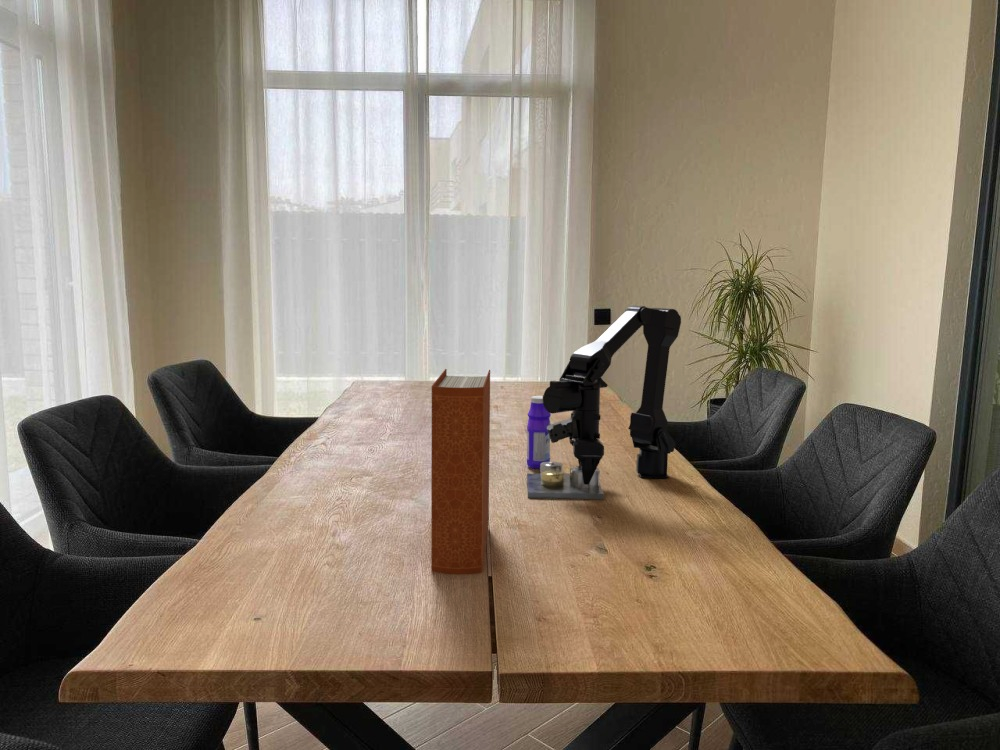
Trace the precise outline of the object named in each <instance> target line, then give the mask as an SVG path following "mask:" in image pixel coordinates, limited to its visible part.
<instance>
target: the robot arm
mask: <svg viewBox="0 0 1000 750" xmlns="http://www.w3.org/2000/svg"><path fill="white" fill-rule="evenodd" d="M681 324H682V316H681V315H680V314H679V312H678V311H677V309H675V308H665V307H662V308H661V307H651V308H650V307H648V306H645V305H630V306H628V307H627V308H626V309H625V311H624V313H623V314H621V315H620V316H619V317H618V318H617V320H616V321H614V322H613V323H612V324H611V325H610V326H609V327H608V328H607V330H605V331H604V332H603V333H602V334H601V335H600V336H599V337H598V338H597V339H596V340H595V341H593V342H590V343H588V344H585V345H583V346H582V347H580V348H579V349H576V350H575V351H574V352H573V353H572V354H571V355H570V356H569V357H570V358H569V360H568V363H567V365H566V367H565V368H564V371H563V372H562V374H561V375H560V378H559V380H550V381H549V386H548V387H547V388H545V391H544V393H543V395H542V396H543V404H544V407H545V409H546V410H547V411H548V412H549V413H550V414H559V413H565V412H570V418H567V419H563V420H561V421H558V422H557V421H556V422H554V423H550V424H551V425H549V426H547V431H548V434H549V437H550V443H552V444H554V443H555V444H556V443H558V442H559V441H561V440H564V439H567V438H568V439H569V444H570V445H571V446H572V447H573V448H572V449H573V457H574V458H575V459H577V462H578V466H581V469H582V476H583V482H584V484H589V483H590V481H591V479H592V477H593V475H594V472H595V470H596V468H598V466H599V465H600V462H601V460H602V459H603V457H604V455H605V446H604V443H603V442H602V441H601V440H600V438H601V433H600V421H601V414H600V411H601V410H600V409H601V408H600V406H601V400H600V398H601V389H603V388H608V386H609V385H608V383H607V382H606V381H604V380H603V378H602V377H603V376H604V375H605V373H606V372H607V370H608V369H609V367H610V366H611V363H612V357H613V356H614V355H615V353H617V352H618V351H619V350H620V349H621V348H622V347H623V345H624V344H626V343H627V342H628V341H629V340H630V339H631V338H632V336H633V335H634V334H635V333H637V331H638V330H640V328H642V329H643V330H642V333H643V336H644V339H645V341H646V343H647V351H646V359H645V368H644V370H645V371H644V375H643V376H644V377H643V385H642V395H641V400H640V401H641V402H640V406H639V407H638V409H637V410H636V412H634V411H632V412H631V414H630V415H629V416H630V419H629V421H630V422H629V426H628V430H629V435H630V437H631V441H632V444H633V445H632V446H633V448H635V449H638V451H639V452H638V453H637V454H636V465H635V469H636V470H635V471H636V472H637V474H638V476H639V477H640V478H641V479H642V478H643V479H645V478H646V479H647V478H648V479H669V477H670V476H669V474H668V458H669V455H670V454H671V453H673V452H674V451H675V448H676V444H677V443H676V441H675V440H674V439H673V437H672V436H671V435H670V433H669V432H668V419H667V416H666V415H665V412H664V408H663V406H664V398H665V397H664V396H665V389H666V382H667V381H666V380H667V372H668V364H669V355H670V348H671V346H672V345H673V344H674V342H675V341H676V340H677V338H678V336H679V333H680V329H681Z"/></svg>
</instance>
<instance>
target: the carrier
mask: <svg viewBox="0 0 1000 750" xmlns="http://www.w3.org/2000/svg"><path fill="white" fill-rule="evenodd" d="M539 471H540V473H526V484H527V486H526V488H527V498H528V499H550V500H551V499H552V500H553V499H555V500H557V499H558V500H560V499H561V500H562V499H563V500H564V499H565V500H572V499H573V500H604V498H605V497H604V491H603V489H602V486H601V484H600V483H599V487H593V488H592V489H589V488H582V489H581V488H578V487H575V486H573V487H572V486H570V473H565V472H563V463H561V462H558V461H550V462H542V463H541V464H540V469H539Z"/></svg>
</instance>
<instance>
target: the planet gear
mask: <svg viewBox="0 0 1000 750" xmlns="http://www.w3.org/2000/svg"><path fill="white" fill-rule="evenodd" d="M569 474H570V486H572V487H573V486H575V487H578V488H581V489H582V488H589V489H592V488H593V487H599V484H600V468H598V467H597V468H596V470H595V472H594V475H593V477H592V479H591V481H590V483H589V484H584V482H583V476H582V469H581V466H579V465H576V466H574V467H573V466H571V467H570V468H569Z"/></svg>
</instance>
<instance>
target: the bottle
mask: <svg viewBox="0 0 1000 750" xmlns="http://www.w3.org/2000/svg"><path fill="white" fill-rule="evenodd" d="M527 416H528V420H527V427H526V430H527V434H526V435H527V436H526V438H527V442H526V443H527V445H526V465H527V467H528V468H530V469H535V470H536V469H538V470H540V464H541V463H542V462H551V439H550V437H549V434H548V431H547V426H549V425H551V424H552V423H551V420H550V419H551V416H552V413H549V412H548V411H547V410H546V409H545V407H544V404H543V395H533V396H530V408H529V410H528V413H527Z"/></svg>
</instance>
